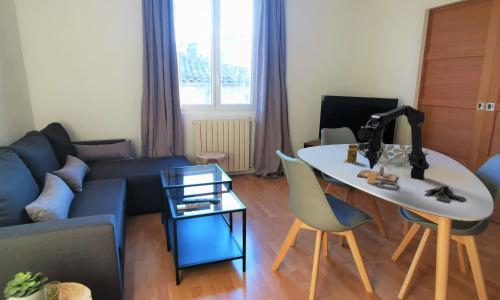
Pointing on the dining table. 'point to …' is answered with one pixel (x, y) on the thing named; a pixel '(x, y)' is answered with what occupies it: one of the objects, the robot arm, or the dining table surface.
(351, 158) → the condiment
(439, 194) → the cloth
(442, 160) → the dining table surface
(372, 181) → the link
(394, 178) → the keeper plate
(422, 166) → the robot arm
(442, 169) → the dining table surface
